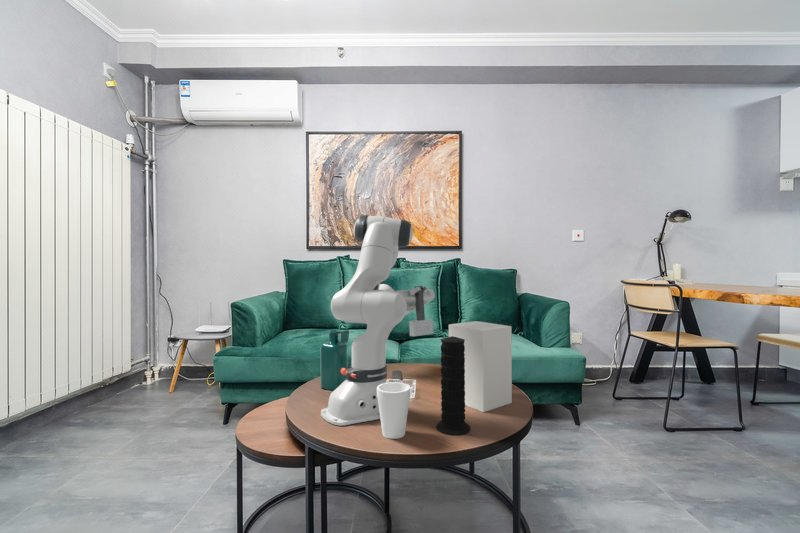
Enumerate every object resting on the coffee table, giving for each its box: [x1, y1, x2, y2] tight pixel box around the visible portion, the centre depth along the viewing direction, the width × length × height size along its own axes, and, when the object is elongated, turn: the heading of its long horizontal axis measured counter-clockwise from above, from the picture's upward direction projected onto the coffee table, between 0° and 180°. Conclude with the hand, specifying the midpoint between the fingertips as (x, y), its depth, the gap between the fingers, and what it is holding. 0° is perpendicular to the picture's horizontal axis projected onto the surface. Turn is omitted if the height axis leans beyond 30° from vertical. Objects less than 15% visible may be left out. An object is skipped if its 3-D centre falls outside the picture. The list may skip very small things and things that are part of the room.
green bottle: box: [319, 329, 350, 391], centre depth 152 cm, size 10×8×22 cm
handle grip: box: [435, 336, 472, 436], centre depth 113 cm, size 10×26×10 cm
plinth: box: [448, 320, 513, 413], centre depth 136 cm, size 14×16×26 cm
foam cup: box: [377, 381, 411, 440], centre depth 110 cm, size 10×9×13 cm
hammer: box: [408, 285, 434, 337], centre depth 162 cm, size 10×20×3 cm
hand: (422, 288), depth 161 cm, fingers closed on hammer, 2 cm apart
